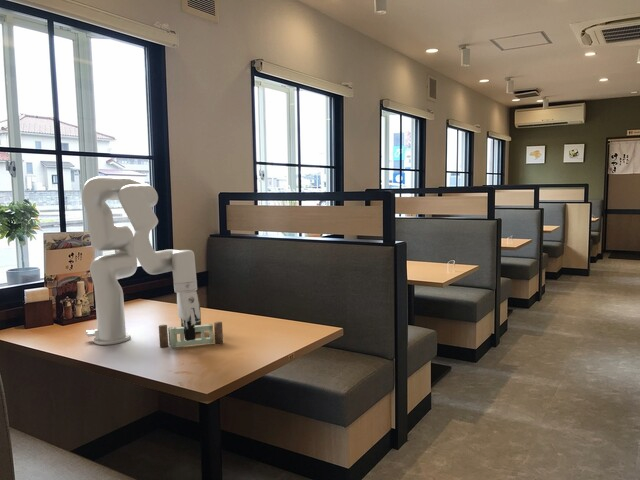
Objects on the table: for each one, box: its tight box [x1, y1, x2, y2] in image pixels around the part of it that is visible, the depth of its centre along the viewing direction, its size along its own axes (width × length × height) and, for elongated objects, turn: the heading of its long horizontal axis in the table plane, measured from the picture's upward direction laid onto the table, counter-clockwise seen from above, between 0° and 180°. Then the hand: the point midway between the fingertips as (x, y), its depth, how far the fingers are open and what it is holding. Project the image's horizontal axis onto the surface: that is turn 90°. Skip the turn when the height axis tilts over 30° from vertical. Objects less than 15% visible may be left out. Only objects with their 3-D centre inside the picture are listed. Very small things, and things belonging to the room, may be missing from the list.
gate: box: [168, 323, 215, 349], centre depth 175 cm, size 15×2×6 cm, turn 106°
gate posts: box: [158, 321, 224, 349], centre depth 177 cm, size 22×4×8 cm, turn 96°
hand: (190, 339), depth 171 cm, fingers closed
